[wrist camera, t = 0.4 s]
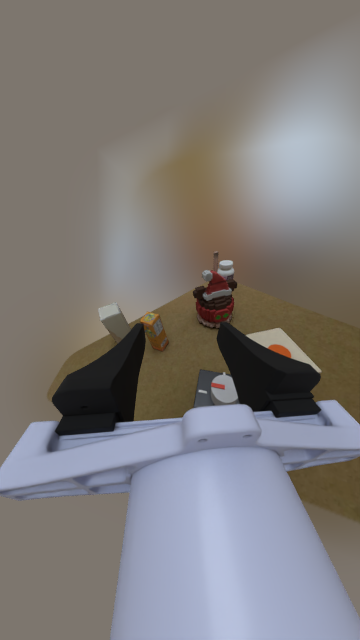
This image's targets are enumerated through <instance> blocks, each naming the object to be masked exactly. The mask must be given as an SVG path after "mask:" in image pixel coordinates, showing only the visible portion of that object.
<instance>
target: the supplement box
mask: <svg viewBox="0 0 360 640" xmlns="http://www.w3.org/2000/svg"><path fill="white" fill-rule="evenodd" d="M140 322H141V323H144V330H145V332H146V335H147V337H148V339H149V341H150V343H151V345H152V347H153V348H155V349H157V350H160V351H163V350H164V349H165V347H166V345H167V344H168V342H169V341H168V339H167V336H166V333H165V330H164V328H163V325H162V322H161V319H160V316H159V314H154V313H150V312H147V313H146V314H145V315H144V316H143V318H142V319H141V320H140Z"/></svg>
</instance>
